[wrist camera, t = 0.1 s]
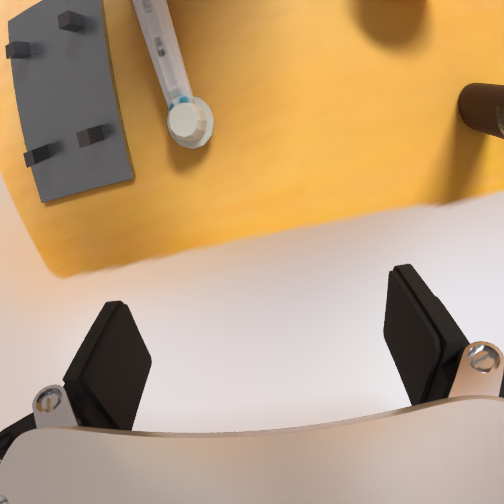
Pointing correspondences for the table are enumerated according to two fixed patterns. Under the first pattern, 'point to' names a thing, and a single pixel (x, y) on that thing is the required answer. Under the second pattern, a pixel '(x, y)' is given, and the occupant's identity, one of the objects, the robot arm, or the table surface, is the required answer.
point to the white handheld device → (173, 76)
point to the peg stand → (67, 97)
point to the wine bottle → (483, 108)
